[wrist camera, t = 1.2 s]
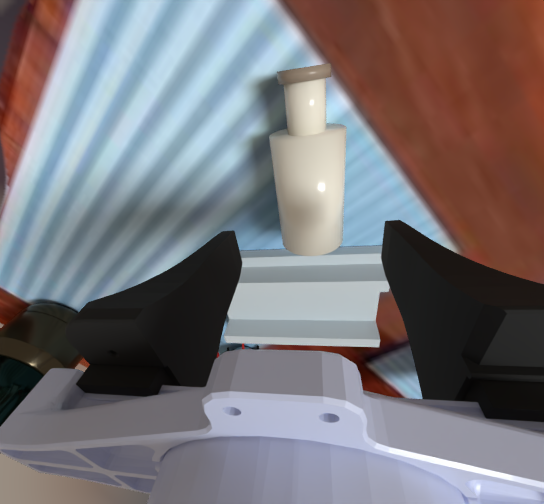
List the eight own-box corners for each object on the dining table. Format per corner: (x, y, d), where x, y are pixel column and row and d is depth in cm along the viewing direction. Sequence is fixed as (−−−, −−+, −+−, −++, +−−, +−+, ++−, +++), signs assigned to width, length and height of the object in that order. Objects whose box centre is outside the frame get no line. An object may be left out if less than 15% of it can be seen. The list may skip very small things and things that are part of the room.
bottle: (341, 222, 22) (344, 255, 18) (286, 224, 23) (278, 256, 19) (345, 61, 16) (352, 59, 12) (269, 73, 17) (252, 75, 13)
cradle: (382, 245, 23) (392, 270, 20) (371, 325, 29) (377, 353, 26) (213, 251, 26) (200, 274, 23) (236, 323, 32) (228, 348, 29)
